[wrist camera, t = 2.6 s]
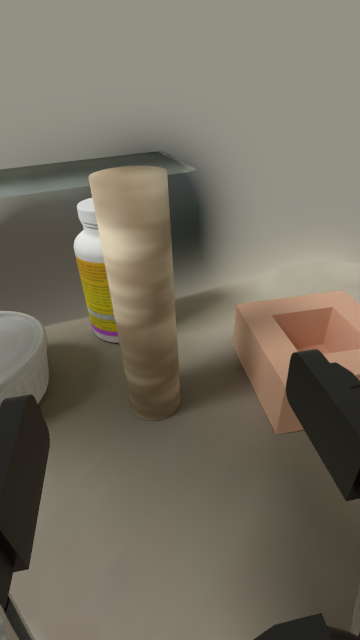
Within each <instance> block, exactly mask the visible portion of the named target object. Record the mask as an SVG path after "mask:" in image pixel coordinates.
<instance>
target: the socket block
mask: <svg viewBox="0 0 360 640" xmlns="http://www.w3.org/2000/svg"><path fill="white" fill-rule="evenodd" d="M233 348H234V350H235V352H236V354H237V356H238V358H239V360H240V362H241V364H242V366H243V368H244V370H245V372H246V374H247V376H248V378H249V380H250V382H251V384H252V386H253V388H254V391H255V393H256V395H257V397H258V399H259V401H260V403H261V405H262V407H263V409H264V411H265V413H266V415H267V417H268V419H269V421H270V423H271V425H272V427H273V429H274V431H275V433H276V435H278V434H284V433H289V432H295V431H300V430H304V429H303V427H302V425H301V424H300V422H299V420H298V418H297V417H296V415H295V413H294V412H293V410H292V408H291V407H290V405H289V402H288V400H287V396H286V382H287V376H288V370H289V364H290V358H291V355H292V353H294V352H300V351H306V350H312V349H318V350H319V351H320V352H321V353H322V354H323V355H324V356H325V357H326V359H327V360H328V361H329V362H330V363H334V362H337V363H338V364H340V365H341V366H343V367H345V368H346V369H348V370H349V371H351V372H352V373H353V374H354V375H355V376H356V377H357V378H358V380H359V381H360V305H359V304H358V303H357V302H356V301H355V300H353V299H352V298H351V297H350V296H349V295H348V294H346V293H345V292H344V291H343V290H341V291H334V292H326V293H319V294H311V295H304V296H296V297H289V298H281V299H274V300H266V301H259V302H251V303H244V304H236V312H235V329H234V346H233Z"/></svg>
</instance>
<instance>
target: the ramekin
mask: <svg viewBox="0 0 360 640" xmlns="http://www.w3.org/2000/svg"><path fill="white" fill-rule="evenodd" d="M46 349H47V335H46V332H45V329H44V327H43V325H42V324H41V323H40V322H39V321H38V320H37V319H36V318H34V317H32V316H30V315H27V314H24V313H19V312H13V311H0V405H1V403H2V401H3V400H4V399H5V398H11V397H18V396H24V395H30V394H32V395H33V396H34V397H35V399H36V401H37V404H39V402H40V400H41V399H42V397H43V395H44V394H45V392H46V389H47V387H48V382H49V369H48V359H47V351H46Z"/></svg>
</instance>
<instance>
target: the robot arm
mask: <svg viewBox="0 0 360 640" xmlns="http://www.w3.org/2000/svg"><path fill="white" fill-rule="evenodd" d="M286 396H287V400H288V402H289V405H290V407H291V408H292V410H293V412H294V413H295V415H296V417H297V418H298V420H299V422H300V424H301V425H302V427H303V429H304V430H305V432H306V434H307V435H308V437H309V439H310V441H311V442H312V444H313V446H314V447H315V449H316V451H317V452H318V454H319V456H320V458H321V459H322V461H323V463H324V464H325V466H326V468H327V469H328V471H329V473H330V475H331V476H332V478H333V480H334V481H335V483H336V485H337V486H338V488H339V490H340V492H341V493H342V495H343V497H344V498H345V500H346V501H349V500H353V499H358V498H360V381H359V380H358V378H357V377H356V376H355V375H354V374H353V373H352V372H351V371H349V370H348V369H346V368H345V367H343V366H341V365H340V364H338V363H337V362H334V363H330V362H329V361H328V360H327V359H326V357H325V356H324V355H323V354H322V353H321V352H320V351H319V350H318V349H312V350H306V351H300V352H294V353H292V355H291V358H290V364H289V370H288V376H287V382H286ZM49 445H50V439H49V431H48V428H47V425H46V423H45V420H44V418H43V415H42V413H41V411H40V408H39V406H38V404H37V401H36V399H35V397H34V396H33V395H32V394H30V395H24V396H18V397H11V398H5V399H4V400H3V401H2V403H1V405H0V640H35V639H34V637H33V635H32V633H31V632H30V630H29V628H28V626H27V624H26V622H25V620H24V618H23V617H22V615H21V613H20V611H19V609H18V607H17V605H16V603H15V602H14V600H13V598H12V596H11V594H10V593H9V589H10V585H11V580H12V575H13V572H17V571H22V570H26V569H29V564H30V558H31V552H32V546H33V541H34V535H35V529H36V523H37V517H38V511H39V505H40V500H41V494H42V488H43V482H44V476H45V470H46V464H47V458H48V453H49ZM254 640H360V583H359V589H358V594H357V597H356V601H355V605H354V611H353V618H352V629H351V633H350V632H347V631H345V630H342V629H338V628H334V627H329V626H327V625H326V623H325V621H324V618H323V616H322V613H319V614H315V615H312V616H308V617H304V618H300V619H296V620H292V621H288V622H284V623H280V624H277V625H274V626H272V627H271V628H269V629H268V630H267V631H265V632H264V633H262V634H261V635H259V636H258V637H257V638H255V639H254Z"/></svg>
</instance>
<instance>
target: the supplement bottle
mask: <svg viewBox="0 0 360 640" xmlns="http://www.w3.org/2000/svg"><path fill="white" fill-rule="evenodd" d="M77 210H78V215H79V220H80V221H81V223H82V224H83V227H84V230H83V231H82V232H81V233H80V234H79V235H78V236H77V237H76V239H75V242H74V251H75V255H76V259H77V264H78V268H79V272H80V277H81V281H82V286H83V289H84V294H85V299H86V303H87V308H88V312H89V317H90V321H91V325H92V329H93V331H94V333H95V334H96V335H97V336H98V337H99V338H101V339H102V340H105V341H108V342H113V343H119V338H118V333H117V328H116V322H115V317H114V311H113V306H112V301H111V295H110V290H109V284H108V279H107V274H106V268H105V263H104V257H103V252H102V247H101V241H100V236H99V230H98V225H97V220H96V214H95V209H94V203H93V198H89V199H86V200H83V201H81V202H80V203H78V205H77Z"/></svg>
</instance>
